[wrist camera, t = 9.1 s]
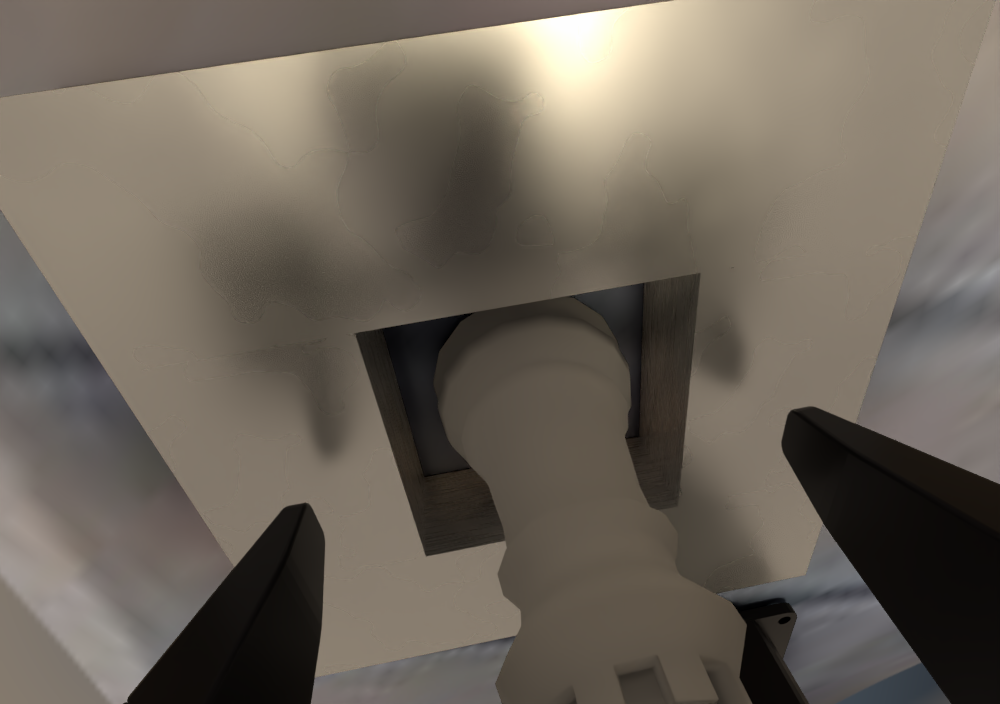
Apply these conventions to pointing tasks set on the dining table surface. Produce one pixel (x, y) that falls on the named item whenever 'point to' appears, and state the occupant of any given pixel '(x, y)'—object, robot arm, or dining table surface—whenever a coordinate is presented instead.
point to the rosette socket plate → (495, 265)
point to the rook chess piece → (579, 518)
